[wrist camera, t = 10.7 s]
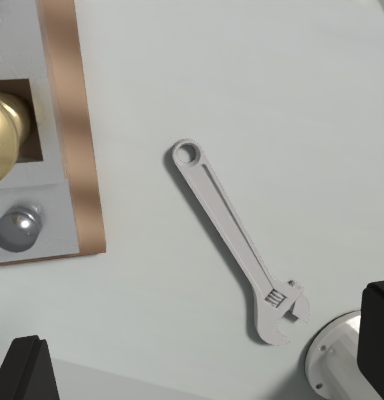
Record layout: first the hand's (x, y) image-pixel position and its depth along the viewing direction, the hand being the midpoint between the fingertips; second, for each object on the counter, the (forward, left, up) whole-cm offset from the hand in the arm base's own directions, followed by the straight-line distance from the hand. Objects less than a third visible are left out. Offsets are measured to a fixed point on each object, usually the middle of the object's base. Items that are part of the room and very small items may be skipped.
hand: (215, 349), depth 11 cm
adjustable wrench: (-9, -9, -24) cm, 27 cm away
